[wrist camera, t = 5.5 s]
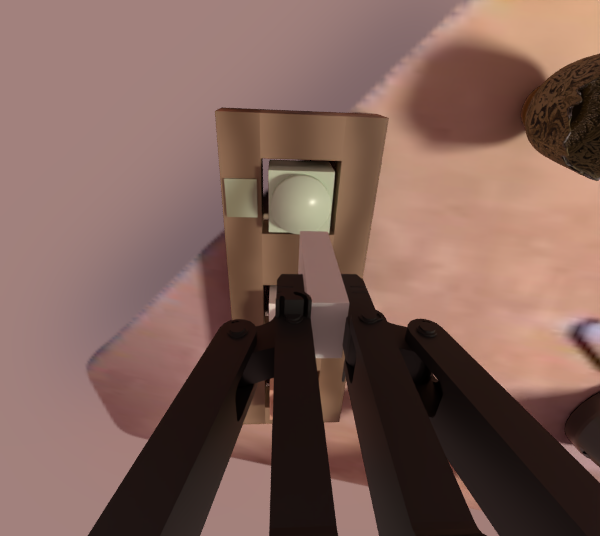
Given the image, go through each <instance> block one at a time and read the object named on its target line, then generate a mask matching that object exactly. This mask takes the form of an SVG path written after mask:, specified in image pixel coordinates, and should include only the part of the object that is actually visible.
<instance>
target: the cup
mask: <svg viewBox="0 0 600 536" xmlns="http://www.w3.org/2000/svg"><path fill="white" fill-rule="evenodd" d="M521 119H522V122H523V125H524V126H525V130H526V135H527V137H528V140H529V141H530V143H531V145H532V146H533V147H534V148H535V149H536V150H537V151H538V152H540V153H541V154H542V155H544V156H545V157H547V158H549V159H551V160H553V161H554V162H556V163H558V164H560V165H562V166H564V167H566V168H569V169H571V170H573V171H575V172H577V173H578V174H580V175H583V176H585V177H587V178H589V179H592V180H595V181H599V180H600V54H597V55H593V56H590V57H586V58H583V59H580V60H578V61H576V62H573V63H571V64H569V65H567V66H565V67H563V68H562V69H560V70H559V71H557V72H556V73H554V74H553V75H552V76H550V77H549V78H548V79H547V80H546V81H545V82H544V83H543V84H542V85H541V86H539V87H538V88H536V89H535V90H534V91H533V92H532V93H531V94H530V95H529V96H528V97H527V99H526V100H525V102H524V104H523V107H522V111H521Z"/></svg>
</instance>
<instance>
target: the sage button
mask: <svg viewBox="0 0 600 536" xmlns="http://www.w3.org/2000/svg"><path fill="white" fill-rule="evenodd" d="M268 175H269V176H268V186H269V232H290V233H293V234H300V231H325V232H328V233H329V231H330V220H331V210H332V199H333V188H334V178H335V171H334V170H333V168H332V166H331V165H330V163H329V162H326V161H294V160H291V161H290V160H270V161H269V170H268Z"/></svg>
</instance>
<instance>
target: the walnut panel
mask: <svg viewBox="0 0 600 536" xmlns="http://www.w3.org/2000/svg"><path fill="white" fill-rule="evenodd" d="M215 117H216V129H217V142H218V155H219V167H220V179H221V192H222V204H223V216H224V229H225V241H226V254H227V266H228V278H229V291H230V303H231V316H232V320H235V319H245V320H248V321H251V322H252V323H253V324H255V326H260V325H263V324H266V323H268V322H269V317H265V290H264V285H277V279H278V278H279V276H280V275H281V274H298V265H299V243H300V234H293V233H290V232H269V220H263V168H262V167H263V164H262V158H268V159H298V160H330V161H335V166H334V171H335V178H334V188H333V199H332V210H331V220H330V231H329V233H328V234H329V237H330V241H331V244H332V247H333V250H334V254H335V257H336V260H337V264H338V267H339V270H340V273H341V274H357V275H358V276H359V277H360V278H362V279H363V272H364V266H365V260H366V254H367V248H368V242H369V236H370V230H371V223H372V217H373V211H374V205H375V199H376V193H377V187H378V180H379V174H380V168H381V162H382V156H383V150H384V144H385V138H386V131H387V125H388V119H389V118H387V117H384V116H381V115H378V114H360V113H336V112H312V111H288V110H264V109H241V108H220V109H218V110H216V111H215ZM344 360H345V355H344V350H343V352H342V358H316V365H317V373H318V381H319V389H320V397H321V405H322V413H323V421H324V422H339V420H340V413H341V407H342V401H343V395H344V389H345V383H346V377H345V382H342V373H343V367H344ZM272 423H273V420H270V386H269V387H266V380H264V381H261V382H258V386H257V389H256V391H255V394H254V396H253V399H252V402H251V404H250V407H249V409H248V412H247V415H246V417H245V420H244V422H243V424H272Z"/></svg>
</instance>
